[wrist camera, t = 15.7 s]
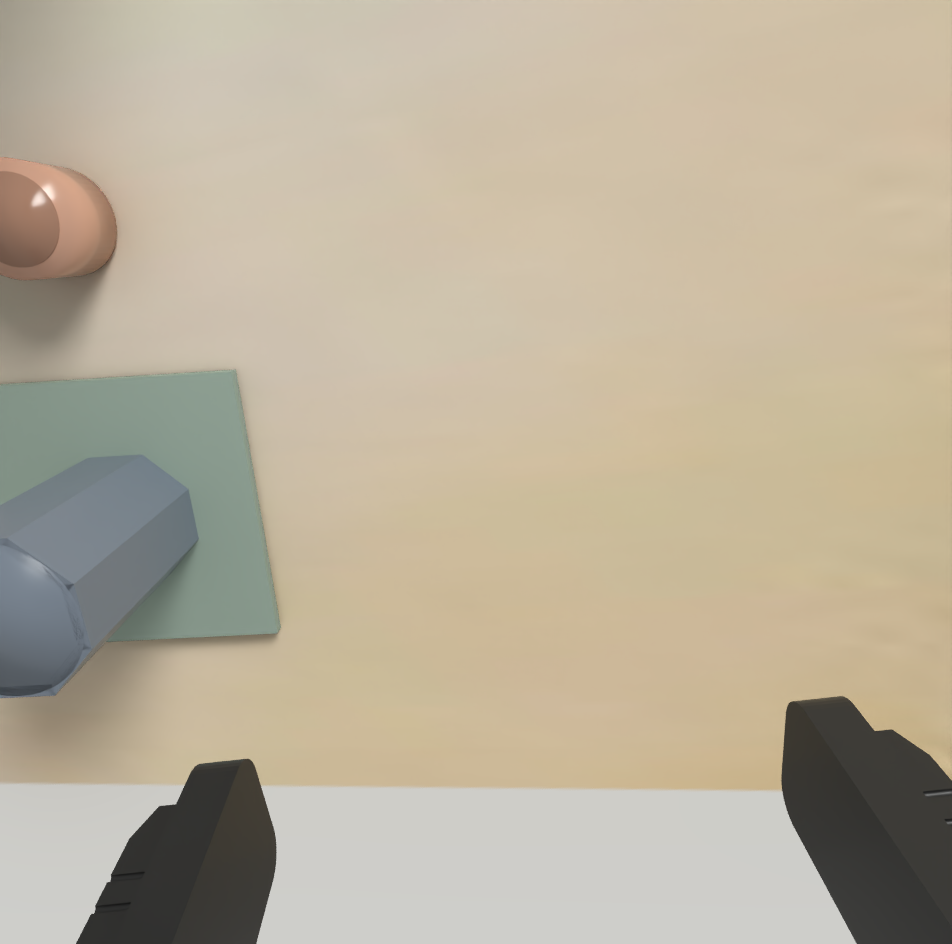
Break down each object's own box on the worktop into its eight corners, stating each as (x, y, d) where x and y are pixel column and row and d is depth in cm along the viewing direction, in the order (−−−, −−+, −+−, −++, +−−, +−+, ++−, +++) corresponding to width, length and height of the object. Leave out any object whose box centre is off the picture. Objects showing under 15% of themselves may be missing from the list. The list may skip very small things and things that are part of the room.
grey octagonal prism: (49, 459, 34) (-122, 545, 24) (180, 452, 33) (60, 535, 24) (82, 579, 36) (-64, 701, 26) (205, 572, 35) (104, 693, 26)
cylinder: (-1, 170, 30) (-62, 161, 27) (103, 163, 30) (54, 152, 27) (28, 279, 32) (-27, 284, 28) (127, 272, 31) (83, 276, 28)
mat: (-31, 386, 33) (-40, 388, 33) (235, 369, 33) (231, 371, 32) (45, 639, 38) (38, 645, 37) (280, 627, 37) (277, 633, 37)
